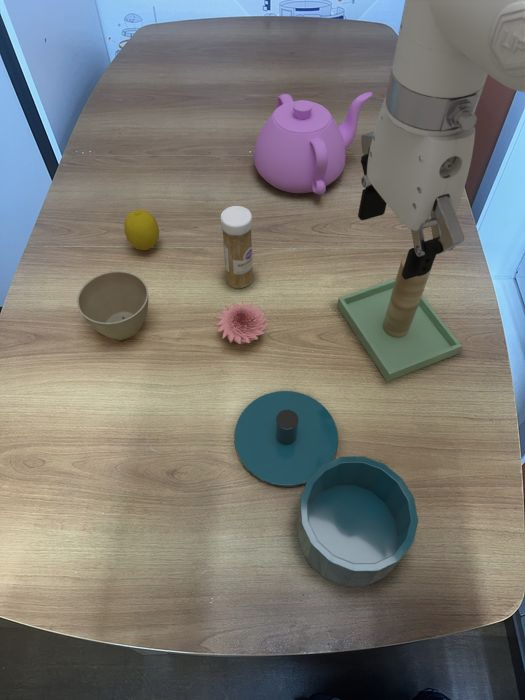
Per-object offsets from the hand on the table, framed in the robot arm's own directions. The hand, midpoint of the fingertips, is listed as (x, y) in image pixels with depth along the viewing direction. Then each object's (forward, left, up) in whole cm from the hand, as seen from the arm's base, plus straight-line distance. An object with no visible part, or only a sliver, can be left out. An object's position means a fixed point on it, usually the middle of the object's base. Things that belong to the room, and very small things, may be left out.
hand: (392, 243), depth 59 cm
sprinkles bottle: (+22, +10, -24) cm, 34 cm away
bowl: (+20, +30, -24) cm, 43 cm away
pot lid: (-7, +15, -23) cm, 28 cm away
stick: (+3, -8, -23) cm, 24 cm away
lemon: (+35, +22, -24) cm, 48 cm away
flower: (+11, +14, -24) cm, 30 cm away
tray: (+3, -8, -24) cm, 25 cm away
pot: (-21, +13, -24) cm, 34 cm away
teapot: (+43, -13, -24) cm, 51 cm away
